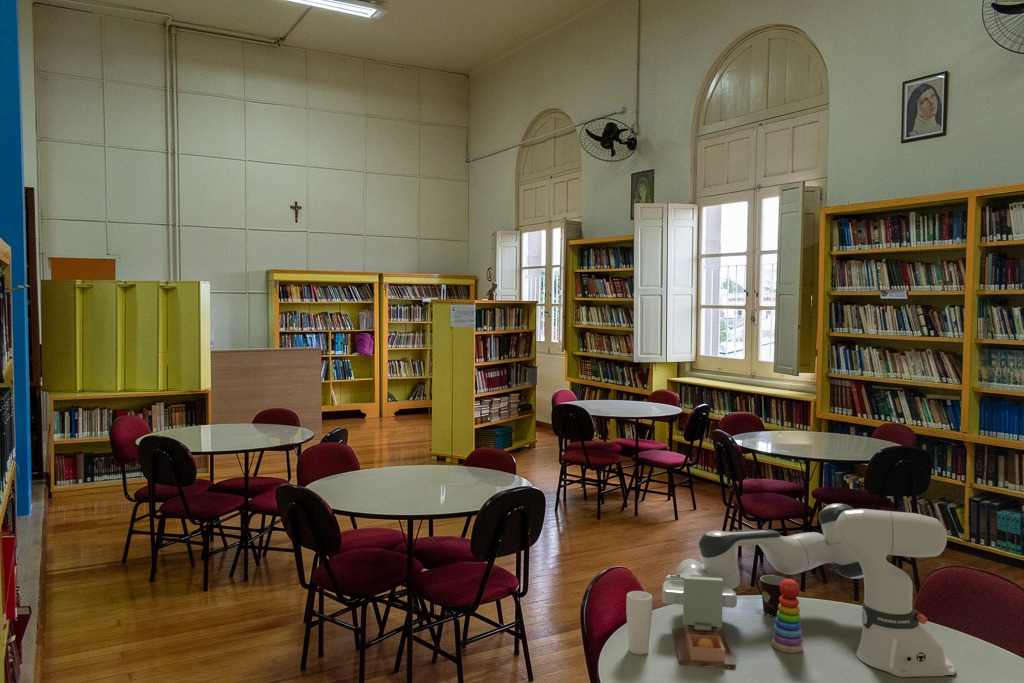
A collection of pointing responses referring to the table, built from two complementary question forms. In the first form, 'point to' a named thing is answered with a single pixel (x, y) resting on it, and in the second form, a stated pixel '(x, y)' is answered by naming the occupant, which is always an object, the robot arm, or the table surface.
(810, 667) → the table surface
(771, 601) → the coffee mug
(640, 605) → the drinking glass
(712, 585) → the pale green panel
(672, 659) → the table surface
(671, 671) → the table surface
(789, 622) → the stacking toy
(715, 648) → the terracotta cup
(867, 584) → the robot arm
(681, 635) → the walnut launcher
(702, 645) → the orange rubber ball
